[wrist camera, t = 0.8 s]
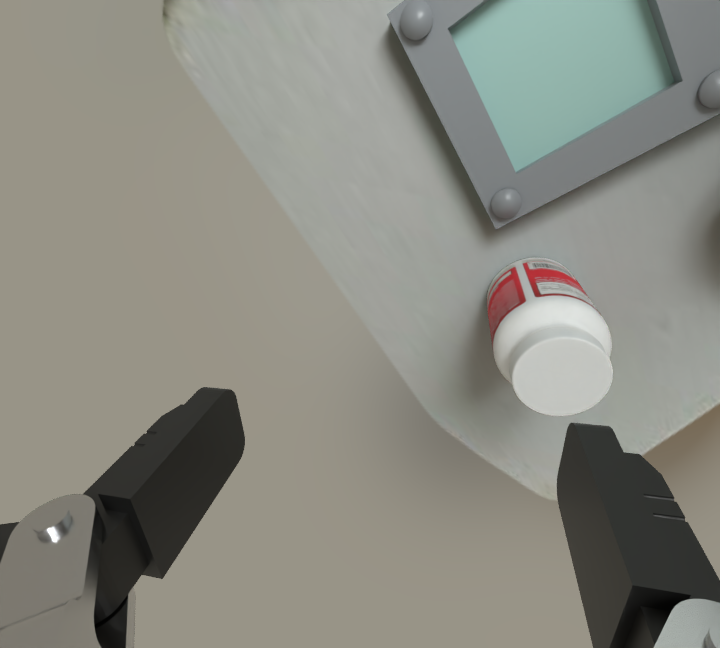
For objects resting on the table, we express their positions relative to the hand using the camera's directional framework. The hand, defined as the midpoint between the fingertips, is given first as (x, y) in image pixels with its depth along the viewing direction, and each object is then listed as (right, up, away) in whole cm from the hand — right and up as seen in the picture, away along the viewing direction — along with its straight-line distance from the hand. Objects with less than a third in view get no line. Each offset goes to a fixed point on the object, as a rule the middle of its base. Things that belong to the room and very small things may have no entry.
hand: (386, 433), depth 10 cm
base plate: (+11, +18, +14) cm, 25 cm away
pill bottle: (+12, +5, +20) cm, 24 cm away
